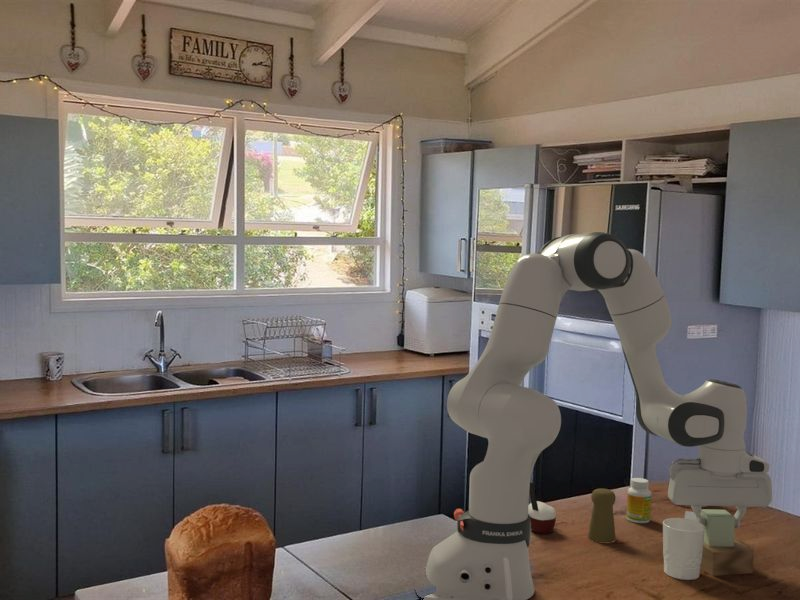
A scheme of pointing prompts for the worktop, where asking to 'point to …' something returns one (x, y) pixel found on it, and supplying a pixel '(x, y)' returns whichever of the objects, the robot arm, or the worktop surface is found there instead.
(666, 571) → the white cup
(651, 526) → the worktop surface
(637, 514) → the supplement bottle
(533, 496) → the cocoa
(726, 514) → the sage block
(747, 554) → the walnut block
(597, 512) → the cork
